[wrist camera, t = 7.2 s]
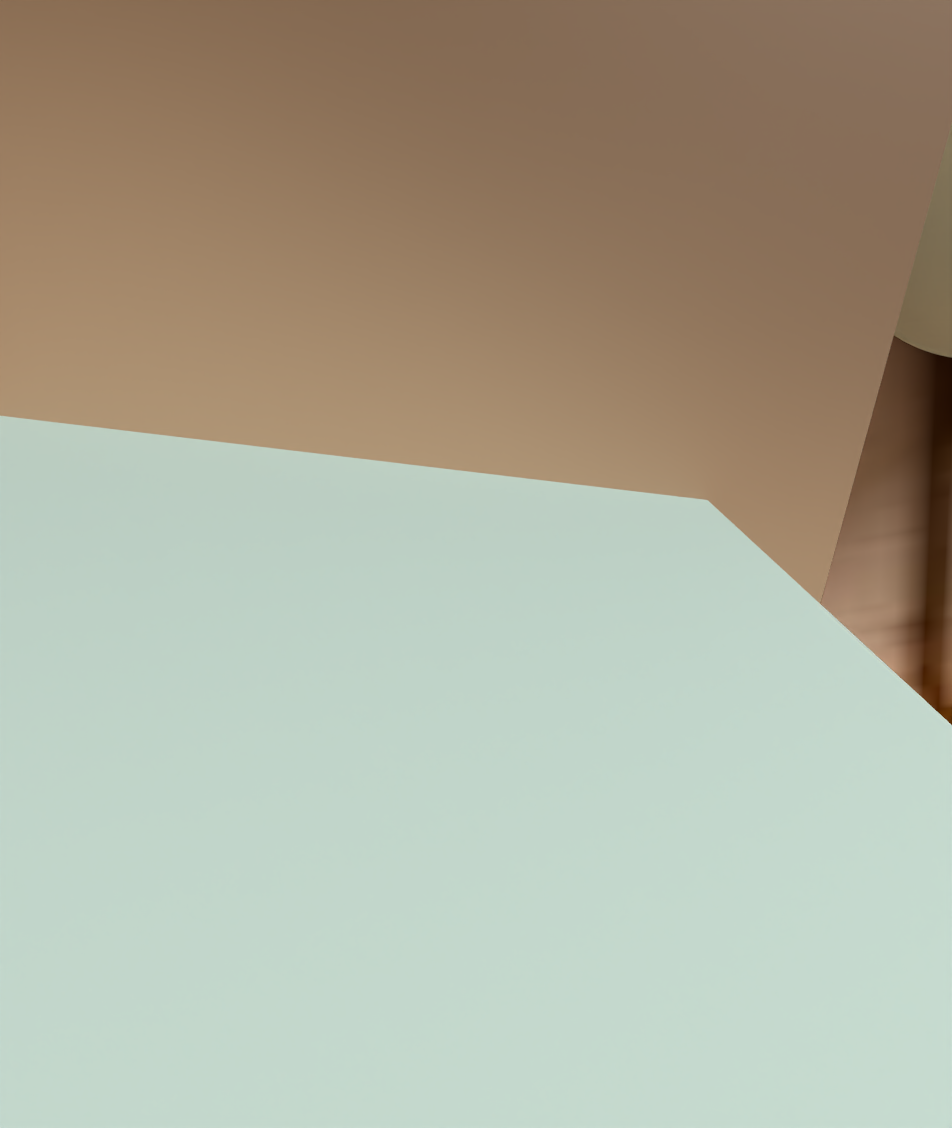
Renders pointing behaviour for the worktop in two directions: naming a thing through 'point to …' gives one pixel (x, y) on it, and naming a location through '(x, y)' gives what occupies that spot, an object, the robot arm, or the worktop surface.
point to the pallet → (478, 234)
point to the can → (932, 273)
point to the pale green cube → (445, 807)
